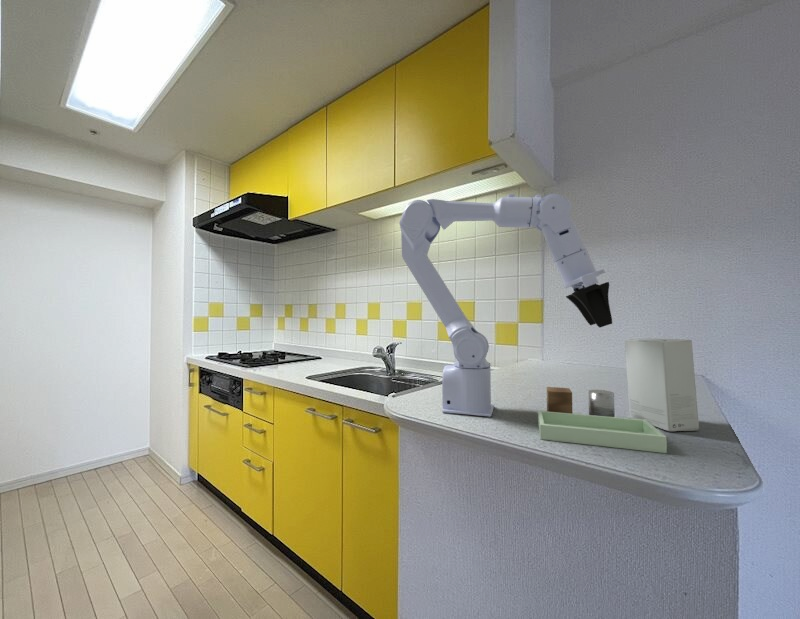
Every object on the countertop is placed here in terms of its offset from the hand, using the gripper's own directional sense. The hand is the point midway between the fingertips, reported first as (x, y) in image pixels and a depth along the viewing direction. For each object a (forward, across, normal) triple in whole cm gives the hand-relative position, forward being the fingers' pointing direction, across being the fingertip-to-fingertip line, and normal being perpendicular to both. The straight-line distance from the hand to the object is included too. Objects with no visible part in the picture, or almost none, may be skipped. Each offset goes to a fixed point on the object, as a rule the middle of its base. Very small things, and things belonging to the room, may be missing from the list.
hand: (600, 324), depth 61 cm
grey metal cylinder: (+16, 0, +6) cm, 17 cm away
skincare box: (+20, 0, -2) cm, 20 cm away
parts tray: (+15, -10, +9) cm, 20 cm away
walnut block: (+14, 0, +13) cm, 19 cm away
